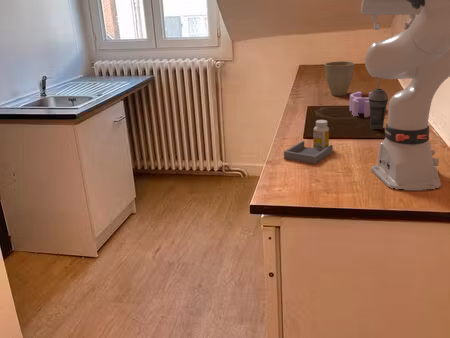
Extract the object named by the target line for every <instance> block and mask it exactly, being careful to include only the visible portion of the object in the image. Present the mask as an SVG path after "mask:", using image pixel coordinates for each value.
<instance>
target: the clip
mask: <svg viewBox="0 0 450 338" xmlns="http://www.w3.org/2000/svg"><path fill="white" fill-rule="evenodd" d="M371 92H372V91H370V92H368V97H363V96H362V95H363V94H362V92H361V91H356V92H353V93H350V94H349V106H348V107H349V112H351V111H352V112H351V116H352V115H353V116H352V117H354V116H358V117H359V114H363V115H364V116H363V117H364V118H370V117H369V116H370V105H369V100H368V99H369V96H370V94H371ZM358 113H359V114H358Z"/></svg>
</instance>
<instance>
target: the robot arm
mask: <svg viewBox="0 0 450 338" xmlns="http://www.w3.org/2000/svg"><path fill="white" fill-rule="evenodd" d="M360 14H362V15H363V16H366V15H367V16H371V21H372V22H373V24H374V25H373V30H377V31H378V30H380V25H381V24H380V23H378V22H377V21H376V19H377V17H378V16H394V15H397V16H399V15H400V16H402V15H409V20H408V22H407V23H404V28H403V29H404V30H402V31H400V32H399V33H396V34H395V35H393V36H390V37H388V38H385V39H381V40H379V41H374V42H373V43H372V44H370V46H369V47H368V48H367V51H366V53H365V57H364V65H365V69H366V71H367V73H368V75H370V76H371V77H372V78H379V79H385V80H401V79H402V80H407V79H411V81H410V83H409V84H408V85H407V86H406V87H404V89H401V90H400V91H397V92H396V93H394V94H393V95H392V97H391V98H389V100H388V101H389V102H388V113H387V114H388V115H387V122H386V124H385V128H384V136H385V138H384V139H383V140H382V141H381V142H380V143H379V146H378V151H377V152H378V153H377V163H376V164H374V165H372V166H371V171H372V172H373V174H374V175H375V176H377V178H378V179H380V181H382V182H383V183H384V184H385V185H386V186H387V187H388V188H389V187H390V189H393V188H395V189H394V190H398V189H404V190H403V191H427V190H426V189H433V190H436V189H435V188H438V189H440V188H441V185H442V183H441V179H440V177H439V173H438V169H437V167H438V166H439V161H440V160H439V158H438V157H434V158H433V156H434V155H436V154H435V152H436V151H435V150H433V149H432V142H431V141H430V133H431V131H430V126H429V118H430V117H429V116H430V110H431V106H432V101H433V98H434V96H435V95H436V92H437V90H438V89H439V88H440V86H441V85H443V83H444V82H445V81H446V80H447V79H448V78H450V0H362V2H361V7H360ZM416 15H417V16H416ZM439 187H440V188H439ZM423 189H425V190H423Z"/></svg>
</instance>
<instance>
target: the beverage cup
mask: <svg viewBox="0 0 450 338" xmlns="http://www.w3.org/2000/svg"><path fill="white" fill-rule="evenodd" d="M376 78H377V77H376ZM379 79H380V78H377V79H376V80H377V81H376V83H377V85H376V89H374V90H372V91H370V92H371V94H370V96H369V95H368V97H369V99H368V100H369V105H370V117H369V124H370V129H371V130H373V129H381V130H383V129H382V128H383V126H384V123H385V118H386V117H385V116H386V111H387V105H388V103H389V102H388V101H389V96H388V93H387V92H386V90H384V89H381V88H379V86H380V85H379Z"/></svg>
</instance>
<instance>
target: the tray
mask: <svg viewBox="0 0 450 338" xmlns="http://www.w3.org/2000/svg"><path fill="white" fill-rule="evenodd" d="M333 148H334V146H333V145H332V144H330V145H329V146H328V147H327V148H325V149H316V148H314V147H309V146H305V140H302V141H300V142H298V143H296V144H295V145H292V146H291V147H289V148H288V149H285V150H284V151H283V159H287V160H291V161H297V162H302V163H308V164H313V165H317V164H318V163H319V162H320V161H322V160H324V159H325V158H326V157H328V156H330V154H332V153H333V152H334V151H333Z"/></svg>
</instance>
